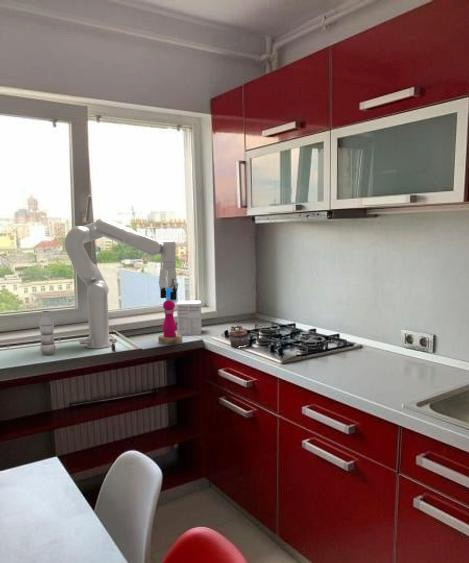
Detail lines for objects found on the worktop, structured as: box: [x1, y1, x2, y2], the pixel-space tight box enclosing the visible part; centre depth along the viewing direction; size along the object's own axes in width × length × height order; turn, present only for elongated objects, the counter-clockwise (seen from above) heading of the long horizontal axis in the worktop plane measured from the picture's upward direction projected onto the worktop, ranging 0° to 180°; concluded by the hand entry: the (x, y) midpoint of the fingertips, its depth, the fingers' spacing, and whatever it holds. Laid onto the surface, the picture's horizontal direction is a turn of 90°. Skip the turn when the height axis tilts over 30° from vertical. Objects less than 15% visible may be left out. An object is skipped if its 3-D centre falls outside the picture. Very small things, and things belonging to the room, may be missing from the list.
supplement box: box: [176, 300, 202, 336], centre depth 259 cm, size 13×13×18 cm
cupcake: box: [228, 324, 250, 349], centre depth 224 cm, size 10×10×10 cm
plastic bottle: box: [38, 310, 56, 356], centre depth 212 cm, size 6×7×20 cm
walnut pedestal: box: [157, 333, 183, 346], centre depth 236 cm, size 12×12×3 cm
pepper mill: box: [162, 296, 178, 337], centre depth 235 cm, size 7×7×20 cm
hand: (168, 298), depth 234 cm, fingers open, 9 cm apart
